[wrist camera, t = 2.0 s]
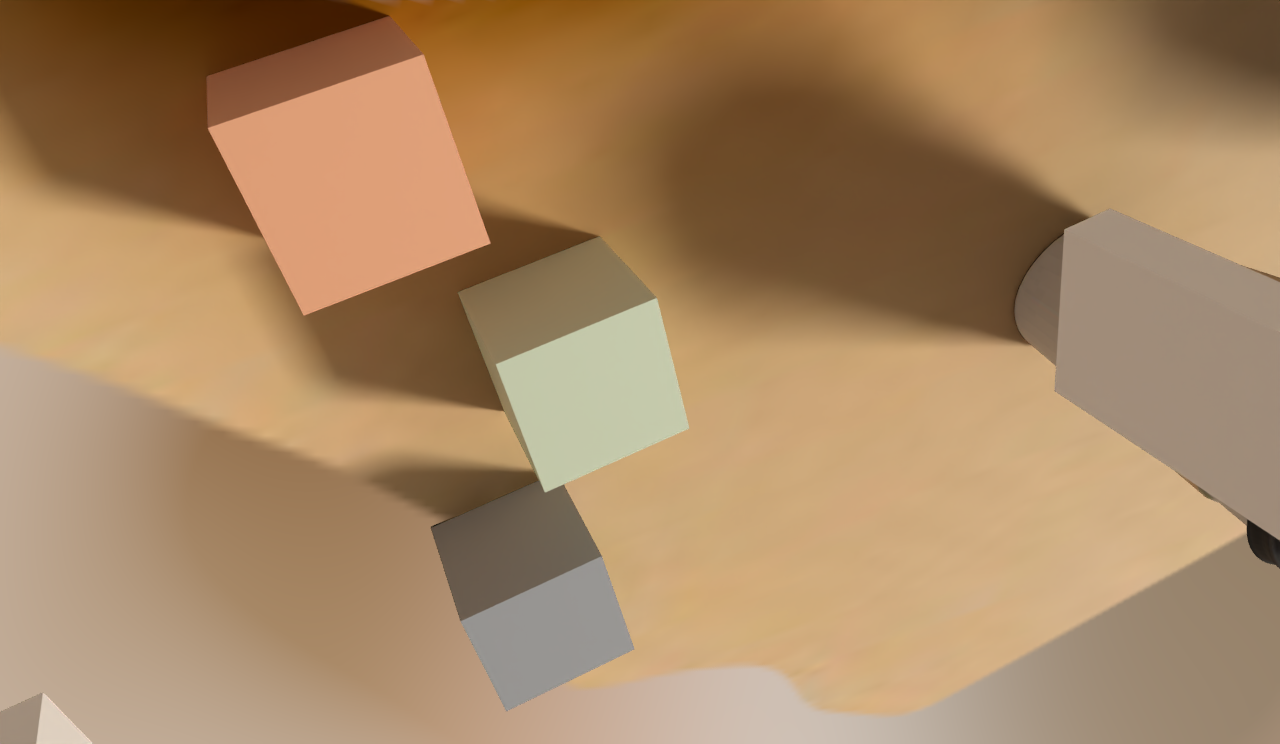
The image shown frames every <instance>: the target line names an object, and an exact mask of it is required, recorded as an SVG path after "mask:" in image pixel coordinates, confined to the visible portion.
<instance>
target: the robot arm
mask: <svg viewBox="0 0 1280 744" xmlns="http://www.w3.org/2000/svg"><path fill="white" fill-rule="evenodd" d="M1055 392H1057V393H1058V394H1060V395H1061V396H1063V397H1064V398H1066V399H1067V400H1069V401H1070V402H1072V403H1073V404H1075V405H1077V406H1078V407H1080V408H1081V409H1083V410H1084V411H1086V412H1087V413H1089V414H1090V415H1092V416H1093V417H1095V418H1096V419H1098V420H1099V421H1101V422H1102V423H1104V424H1105V425H1107V426H1108V427H1110V428H1111V429H1113V430H1114V431H1116V432H1117V433H1119V434H1120V435H1122V436H1123V437H1125V438H1126V439H1128V440H1129V441H1131V442H1132V443H1134V444H1135V445H1137V446H1138V447H1140V448H1141V449H1143V450H1144V451H1146V452H1147V453H1149V454H1150V455H1152V456H1153V457H1155V458H1156V459H1158V460H1159V461H1161V462H1162V463H1164V464H1165V465H1167V466H1168V467H1170V468H1171V469H1173V470H1174V471H1176V472H1177V473H1179V474H1180V475H1182V476H1183V477H1185V478H1186V479H1188V480H1189V481H1191V482H1192V483H1194V484H1196V485H1197V486H1199V487H1200V488H1202V489H1203V490H1205V491H1206V492H1208V493H1209V494H1211V495H1212V496H1214V497H1215V498H1217V499H1218V500H1220V501H1221V502H1223V503H1224V504H1226V505H1227V506H1229V507H1230V508H1232V509H1233V510H1235V511H1236V512H1238V513H1239V514H1241V515H1242V516H1244V517H1245V518H1247V519H1248V520H1250V521H1251V522H1253V523H1254V524H1256V525H1257V526H1259V527H1260V528H1262V529H1263V530H1265V531H1266V532H1268V533H1269V534H1271V535H1272V536H1274V537H1275V538H1277V539H1278V540H1280V282H1278V281H1276V280H1274V279H1271V278H1269V277H1267V276H1265V275H1262V274H1260V273H1258V272H1255V271H1253V270H1251V269H1248V268H1246V267H1244V266H1241V265H1239V264H1237V263H1234V262H1232V261H1230V260H1228V259H1225V258H1223V257H1221V256H1218V255H1216V254H1214V253H1211V252H1209V251H1207V250H1204V249H1202V248H1200V247H1198V246H1195V245H1193V244H1191V243H1188V242H1186V241H1184V240H1181V239H1179V238H1177V237H1174V236H1172V235H1170V234H1167V233H1165V232H1163V231H1161V230H1158V229H1156V228H1154V227H1151V226H1149V225H1147V224H1144V223H1142V222H1140V221H1137V220H1135V219H1133V218H1131V217H1128V216H1126V215H1124V214H1121V213H1119V212H1117V211H1114V210H1112V209H1108V210H1106V211H1104V212H1101V213H1099V214H1097V215H1095V216H1093V217H1090V218H1088V219H1086V220H1084V221H1082V222H1079V223H1077V224H1075V225H1073V226H1071V227H1068V228H1066V229H1064V243H1063V259H1062V276H1061V292H1060V309H1059V325H1058V342H1057V358H1056V375H1055ZM0 744H93V743H92V742H91V741H90V740H89V739H88V738H87V737H86V736H85V735H84V734H83V733H82V732H81V731H80V730H79V729H78V728H77V727H76V726H75V725H74V724H73V723H72V722H71V720H70V719H69V718H68V717H66V716H65V714H64V713H63V712H62V711H61V710H60V709H59V708H58V707H57V706H56V705H55V704H54V703H53V702H52V701H51V700H50V699H49V698H48V697H47V696H46V695H45V694H44V693H40V694H38V695H36V696H34V697H32V698H29V699H27V700H25V701H23V702H21V703H18V704H17V705H14V706H12V707H10V708H8V709H5V710H3V711H1V712H0Z"/></svg>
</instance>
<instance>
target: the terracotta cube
mask: <svg viewBox="0 0 1280 744" xmlns="http://www.w3.org/2000/svg"><path fill="white" fill-rule="evenodd" d="M206 78H207V120H208V130H209V132H210V134H211V136H212V138H213V139H214V141H215V143H216V145H217V147H218V149H219V151H220V153H221V155H222V157H223V159H224V161H225V163H226V165H227V167H228V169H229V171H230V173H231V175H232V177H233V178H234V180H235V182H236V184H237V186H238V188H239V190H240V192H241V194H242V196H243V198H244V200H245V202H246V204H247V206H248V208H249V210H250V212H251V214H252V216H253V217H254V219H255V221H256V223H257V225H258V227H259V229H260V231H261V233H262V235H263V237H264V239H265V241H266V243H267V245H268V247H269V249H270V251H271V253H272V255H273V256H274V258H275V260H276V262H277V264H278V266H279V268H280V270H281V272H282V274H283V276H284V278H285V280H286V282H287V284H288V286H289V288H290V290H291V292H292V294H293V295H294V297H295V299H296V301H297V303H298V305H299V307H300V309H301V311H302V313H303V315H307V314H309V313H312V312H315V311H317V310H320V309H322V308H325V307H328V306H330V305H333V304H335V303H338V302H340V301H343V300H346V299H348V298H351V297H353V296H356V295H359V294H361V293H364V292H366V291H369V290H372V289H374V288H377V287H379V286H382V285H384V284H387V283H390V282H392V281H395V280H397V279H400V278H403V277H405V276H408V275H410V274H413V273H416V272H418V271H421V270H423V269H426V268H428V267H431V266H434V265H436V264H439V263H441V262H444V261H447V260H449V259H452V258H454V257H457V256H459V255H462V254H465V253H467V252H470V251H472V250H475V249H478V248H480V247H483V246H485V245H488V244H491V243H490V240H489V237H488V235H487V232H486V229H485V226H484V223H483V221H482V218H481V215H480V212H479V209H478V206H477V204H476V201H475V198H474V195H473V192H472V190H471V187H470V184H469V181H468V178H467V176H466V173H465V170H464V167H463V164H462V162H461V159H460V156H459V153H458V150H457V147H456V145H455V142H454V139H453V136H452V133H451V131H450V128H449V125H448V122H447V119H446V117H445V114H444V111H443V108H442V105H441V102H440V100H439V97H438V94H437V91H436V88H435V86H434V83H433V80H432V77H431V74H430V72H429V69H428V66H427V63H426V60H425V57H424V55H423V53H422V52H421V51H420V50H419V49H418V48H417V47H416V45H415V44H414V43H413V42H412V41H411V40H410V39H409V38H408V36H407V35H406V34H405V33H404V32H403V31H402V30H401V29H400V27H399V26H398V25H397V24H396V23H395V22H394V21H393V19H392V18H391V17H390V16H387V17H384V18H381V19H378V20H375V21H372V22H369V23H366V24H363V25H360V26H357V27H354V28H351V29H348V30H345V31H342V32H339V33H336V34H333V35H330V36H327V37H324V38H321V39H318V40H315V41H312V42H309V43H306V44H303V45H300V46H297V47H294V48H291V49H287V50H284V51H281V52H278V53H275V54H272V55H269V56H266V57H263V58H260V59H257V60H254V61H251V62H248V63H245V64H242V65H239V66H236V67H233V68H230V69H227V70H224V71H221V72H218V73H215V74H212V75H209V76H206Z"/></svg>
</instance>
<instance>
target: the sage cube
mask: <svg viewBox="0 0 1280 744" xmlns="http://www.w3.org/2000/svg"><path fill="white" fill-rule="evenodd" d="M458 295H459V297H460V300H461V302H462V305H463V308H464V310H465V313H466V315H467V318H468V320H469V323H470V325H471V328H472V331H473V333H474V336H475V338H476V341H477V343H478V346H479V348H480V351H481V353H482V356H483V359H484V361H485V364H486V366H487V369H488V371H489V374H490V376H491V379H492V382H493V384H494V387H495V389H496V392H497V394H498V397H499V399H500V402H501V405H502V407H503V410H504V412H505V414H506V416H507V418H508V420H509V422H510V424H511V426H512V428H513V430H514V432H515V434H516V436H517V438H518V440H519V442H520V444H521V446H522V448H523V450H524V452H525V454H526V456H527V458H528V460H529V462H530V464H531V466H532V468H533V470H534V472H535V474H536V476H537V478H538V480H539V482H540V484H541V486H542V488H543V490H544V492H548V491H550V490H552V489H554V488H557V487H559V486H561V485H563V484H566V483H568V482H570V481H572V480H575V479H577V478H579V477H581V476H584V475H586V474H588V473H590V472H593V471H595V470H597V469H599V468H602V467H604V466H606V465H608V464H611V463H613V462H615V461H617V460H620V459H622V458H624V457H626V456H629V455H631V454H633V453H635V452H638V451H640V450H642V449H644V448H647V447H649V446H651V445H653V444H655V443H658V442H660V441H662V440H664V439H667V438H669V437H671V436H673V435H676V434H678V433H680V432H682V431H685V430H687V429H689V425H688V421H687V417H686V413H685V409H684V405H683V401H682V397H681V393H680V389H679V385H678V381H677V377H676V373H675V369H674V365H673V361H672V357H671V353H670V349H669V345H668V341H667V337H666V333H665V329H664V325H663V321H662V317H661V313H660V309H659V305H658V301H657V298H656V296H655V295H654V294H653V293H652V292H651V291H650V290H649V289H648V288H647V287H646V286H645V285H644V283H643V282H642V281H641V280H640V279H639V278H638V277H637V276H636V275H635V274H634V273H633V272H632V271H631V269H630V268H629V267H628V266H627V265H626V264H625V263H624V262H623V261H622V260H621V259H620V258H619V256H618V255H617V254H616V253H615V252H614V251H613V250H612V249H611V248H610V247H609V246H608V245H607V244H606V242H605V241H604V240H603V239H602V238H601V237H600V236H599V237H596V238H594V239H591V240H589V241H586V242H584V243H581V244H578V245H576V246H573V247H571V248H568V249H566V250H563V251H561V252H558V253H556V254H553V255H551V256H548V257H546V258H543V259H540V260H538V261H535V262H533V263H530V264H528V265H525V266H523V267H520V268H518V269H515V270H513V271H510V272H508V273H505V274H502V275H500V276H497V277H495V278H492V279H490V280H487V281H485V282H482V283H480V284H477V285H475V286H472V287H470V288H467V289H464V290H462V291H459V292H458Z"/></svg>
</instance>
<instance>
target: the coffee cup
mask: <svg viewBox="0 0 1280 744" xmlns="http://www.w3.org/2000/svg"><path fill="white" fill-rule="evenodd" d="M1063 243H1064V235H1062V236H1061V237H1060V238H1058V239H1057V240H1056V241H1054V242H1053V243H1052V244H1051V245H1050V246H1049V247H1048V248H1047V249H1046V250H1045V251H1044V252H1043V253H1042V254H1041V255H1040V256H1039V257H1038V259H1037V260H1036V261H1035V262H1034V263H1033V265H1032V266H1031V268H1030V269H1029V271H1028V272H1027V274H1026V275H1025V277H1024V279H1023V281H1022V283H1021V285H1020V287H1019V290H1018V293H1017V296H1016V301H1015V309H1014V311H1015V321H1016V324H1017V327H1018V330H1019V331H1020V333H1021V334H1022V336H1023V338H1024V339H1025V340H1026V341H1028V342H1029V343H1030V344H1031V345H1032V346H1033V347H1034V348H1035V349H1037V350H1038V351H1039V352H1040V353H1041V354H1043V355H1044V356H1045V357H1046V358H1047V359H1048V360H1050V361H1051V362H1052V363H1053V364H1054V365H1056V358H1057V342H1058V325H1059V309H1060V292H1061V276H1062V259H1063ZM1241 266H1242V265H1241ZM1244 267H1245V266H1244ZM1246 268H1248V267H1246ZM1248 269H1251V268H1248ZM1251 270H1253V271H1255V272H1258V273H1260V274H1262V275H1265V276H1267V277H1269V278H1271V279H1274V280H1276V281H1278V282H1280V278H1279V277H1276V276H1273V275H1270V274H1267V273H1264V272H1260V271H1257V270H1254V269H1251ZM1175 472H1176V471H1175ZM1178 474H1179V473H1178ZM1179 475H1180V474H1179ZM1180 476H1181V477H1183V476H1182V475H1180ZM1183 478H1184V479H1185V480H1186V481H1187V482H1188V483H1190V484H1191V485H1192V486H1193V487H1194V488H1196V489H1197V490H1198V491H1199V492H1200V493H1201V494H1203V495H1204V496H1205V497H1206V498H1208V499H1211V500H1213V501H1216V502H1219V503H1220V504H1221V505H1223V506H1224V507H1225V508H1226V509H1227V510H1229V511H1230V512H1231V513H1232V514H1233V515H1235V516H1236V517H1237V518H1238V519H1239V520H1241V521H1242V522H1243V523H1244V524H1245V525H1247V537H1248V542H1249V545H1250V548H1251V549H1252V551H1253V553H1254V554H1255V555H1256V556H1257V557H1258V558H1259V559H1261V560H1262V561H1264V562H1266V563H1270V564H1274V565H1276V566H1277V567H1279V568H1280V540H1278V539H1277V538H1275V537H1274V536H1272V535H1271V534H1269V533H1268V532H1266V531H1265V530H1263V529H1262V528H1260V527H1259V526H1257V525H1256V524H1254V523H1253V522H1251V521H1250V520H1248V519H1247V518H1245V517H1244V516H1242V515H1241V514H1239V513H1238V512H1236V511H1235V510H1233V509H1232V508H1230V507H1229V506H1227V505H1226V504H1224V503H1223V502H1221V501H1220V500H1218V499H1217V498H1215V497H1214V496H1212V495H1211V494H1209V493H1208V492H1206V491H1205V490H1203V489H1202V488H1200V487H1199V486H1197V485H1196V484H1194V483H1192V482H1191V481H1189V480H1188V479H1186V478H1185V477H1183Z"/></svg>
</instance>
